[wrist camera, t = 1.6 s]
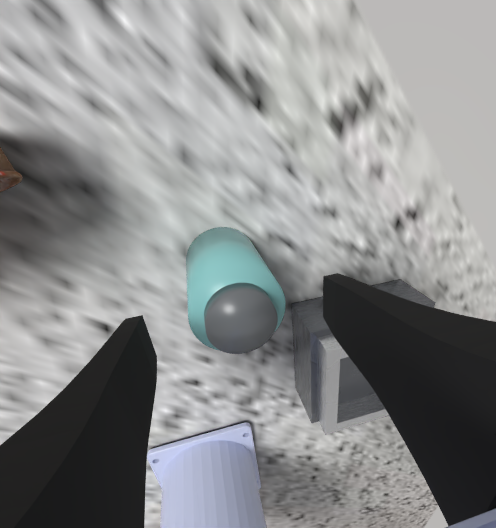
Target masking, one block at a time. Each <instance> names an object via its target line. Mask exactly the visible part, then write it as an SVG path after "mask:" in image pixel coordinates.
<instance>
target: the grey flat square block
mask: <svg viewBox="0 0 496 528" xmlns="http://www.w3.org/2000/svg"><path fill="white" fill-rule="evenodd" d="M372 287H374V288H377V289H379V290H382V291H385V292H387V293H390V294H393V295H395V296H398V297H401V298H404V299H407V300H410V301H413V302H416V303H419V304H422V305H425V306H429V307H432V308H434V305H435V302H434V301H432V300H431V299H429V298H428V297H426V296H425V295H423V294H422V293H420V292H419V291H417V290H416V289H414V288H413V287H411V286H410V285H408V284H407V283H405V282H404V281H402V280H401V279H399V280H395V281H390V282H386V283H382V284H377V285H373V286H372ZM291 305H292V324H293V344H294V364H295V383H296V390H297V392H298V394H299V396H300V399H301V401H302V403H303V405H304V407H305V410H306V412H307V414H308V416H309V418H310V421H311V423H314V422H318V421H319V423H320V425H321V427H322V429H323V431H324V433H325V435H326V434H330V433H333V432H336V431H340V430H343V429H346V428H349V427H353V426H356V425H359V424H363V423H366V422H369V421H373V420H376V419H379V418H382V417H386V416H389V414H388V412H387V411H386V409H385V407H384V406H383V404H382V403H381V401H380V399H379V398H378V396H377V394H376V393H375V391H374V390H373V388H372V387H371V386H370V384H369V383H368V381H367V380H366V379H365V377H364V376H363V375H362V373H361V372H360V371H359V369H358V368H357V367H356V365H355V364H354V363H353V362H352V360H351V359H350V358H349V356H348V355H347V354H346V352H345V351H344V350H343V348H342V347H341V346H340V344H339V343H338V342H337V340H336V339H335V337H334V336H333V334H332V332H331V331H330V329H329V327H328V325H327V323H326V322H325V320H324V318H323V297H320V298H315V299H311V300H307V301H302V302H298V303H293V304H291Z"/></svg>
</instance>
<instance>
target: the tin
mask: <svg viewBox="0 0 496 528" xmlns="http://www.w3.org/2000/svg"><path fill="white" fill-rule="evenodd" d="M22 179H23V178H22V175H21V174H20V173H18V172H16V171H15V170H14V168H13V167H12V165H11V163H10V162H9V160H8V159H7V157H6V156H5V154H4V152H3V151H2V149H1V148H0V192H1V191H4V190H6V189H8V188H11V187H13V186H15V185H17V184H18V183H20V182H21V181H22Z"/></svg>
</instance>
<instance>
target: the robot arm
mask: <svg viewBox="0 0 496 528" xmlns="http://www.w3.org/2000/svg"><path fill="white" fill-rule="evenodd" d="M323 318H324V320H325V322H326V323H327V325H328V327H329V329H330V331H331V332H332V334H333V336H334V337H335V339H336V340H337V342H338V343H339V344H340V346H341V347H342V348H343V350H344V351H345V352H346V354H347V355H348V356H349V358H350V359H351V360H352V362H353V363H354V364H355V365H356V367H357V368H358V369H359V371H360V372H361V373H362V375H363V376H364V377H365V379H366V380H367V381H368V383H369V384H370V386H371V387H372V388H373V390H374V391H375V393H376V394H377V396H378V398H379V399H380V401H381V403H382V404H383V406H384V407H385V409H386V411H387V412H388V414H389V416H390V417H391V419H392V421H393V422H394V424H395V426H396V428H397V429H398V431H399V433H400V435H401V436H402V438H403V440H404V441H405V443H406V445H407V447H408V449H409V450H410V452H411V454H412V456H413V458H414V460H415V461H416V463H417V465H418V467H419V469H420V471H421V472H422V474H423V476H424V478H425V480H426V482H427V484H428V486H429V488H430V490H431V492H432V494H433V496H434V498H435V500H436V502H437V503H438V505H439V507H440V509H441V511H442V513H443V515H444V517H445V519H446V521H447V523H448V527H446V528H496V322H493V321H488V320H483V319H478V318H473V317H468V316H464V315H459V314H455V313H451V312H447V311H443V310H440V309H436V308H432V307H429V306H425V305H422V304H419V303H416V302H413V301H410V300H407V299H404V298H401V297H398V296H395V295H393V294H390V293H387V292H385V291H382V290H379V289H377V288H374V287H372V286H369V285H367V284H364V283H362V282H360V281H357V280H355V279H352V278H349V277H347V276H344V275H341V274H338V273H337V274H333V275H328V276H324V280H323ZM156 382H157V356H156V353H155V350H154V347H153V344H152V341H151V339H150V336H149V333H148V330H147V327H146V324H145V322H144V319H143V316H137V317H132V318H128V319H125V320H124V321H123V322H122V323H121V325H120V326H119V327H118V328H117V329H116V331H115V332H114V333H113V334H112V336H111V337H110V338H109V339H108V340H107V342H106V343H105V344H104V345H103V346H102V348H101V349H100V350H99V351H98V352H97V354H96V355H95V356H94V357H93V358H92V359H91V361H90V362H89V363H88V364H87V365H86V366H85V367H84V368H83V369H82V370H81V371H80V373H79V374H78V375H77V376H76V377H75V378H74V379H73V380H72V381H71V382H70V383H69V384H68V385H67V386H66V387H65V389H64V390H63V391H61V392H60V393H59V394H58V395H57V396H56V397H55V398H54V399H53V400H52V401H51V402H50V403H49V404H48V405H47V406H46V407H45V408H44V409H43V410H41V411H40V412H39V413H38V414H37V415H36V416H35V417H34V418H33V419H31V420H30V421H29V422H28V423H27V424H25V425H24V426H23V427H22V428H21V429H19V430H18V431H17V432H16V433H15V434H13V435H12V436H11V437H10V438H9V439H8V440H6V441H5V442H4V443H3V444H2V445H0V528H144V512H145V481H146V459H148V461H149V463H150V466H151V468H152V470H153V472H154V474H155V476H156V478H157V480H158V482H159V484H160V487H161V489H162V504H161V523H160V528H267V527H266V522H265V517H264V513H263V508H262V504H261V499H260V494H259V489H260V488H261V483H260V477H259V471H258V465H257V459H256V453H255V447H254V442H253V436H252V430H251V425H250V424H249V423H247V422H245V423H241V424H237V425H234V426H230V427H227V428H223V429H220V430H216V431H213V432H209V433H206V434H202V435H199V436H195V437H191V438H188V439H184V440H181V441H177V442H174V443H170V444H167V445H163V446H160V447H156V448H153V449H151V450H149V451H148V453H147V448H148V439H149V432H150V425H151V418H152V411H153V404H154V397H155V390H156Z"/></svg>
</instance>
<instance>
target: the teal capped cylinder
mask: <svg viewBox="0 0 496 528" xmlns="http://www.w3.org/2000/svg"><path fill="white" fill-rule="evenodd" d="M186 270H187V295H188V319H189V324H190V327H191V330H192V332H193V333H194V335H195V336H196V337H197V338H198V339H199V340H200V341H201V342H202V343H203V344H205V345H206V346H208V347H210V348H213V349H216V350H220V351H223V352H227V353H232V354H240V353H246V352H250V351H253V350H255V349H257V348H259V347H260V346H262V345H263V344H265V343H266V342H267V341H268V340H269V339H270V338H271V336H272V335H273V333H274V332H275V331H276V329H277V328H278V327H279V325H280V323H281V321H282V319H283V316H284V313H285V296H284V293H283V291H282V289H281V287H280V285H279V284H278V282H277V281H276V279H275V278H274V276H273V275H272V273H271V271H270V270H269V268H268V267H267V265H266V264H265V262H264V261H263V259H262V258H261V256H260V254H259V253H258V251H257V250H256V248H255V247H254V245H253V244H252V242H251V241H250V239H249V238H248V237H247V236H246V235H245V234H243V233H242V232H240V231H238V230H236V229H232V228H227V227H219V228H213V229H210V230H207V231H205V232H204V233H202V234H201V235H199V236H198V237H197V238H196V239H195V240H194V241H193V242H192V244H191V245H190V247H189V249H188V252H187V257H186Z"/></svg>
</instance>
